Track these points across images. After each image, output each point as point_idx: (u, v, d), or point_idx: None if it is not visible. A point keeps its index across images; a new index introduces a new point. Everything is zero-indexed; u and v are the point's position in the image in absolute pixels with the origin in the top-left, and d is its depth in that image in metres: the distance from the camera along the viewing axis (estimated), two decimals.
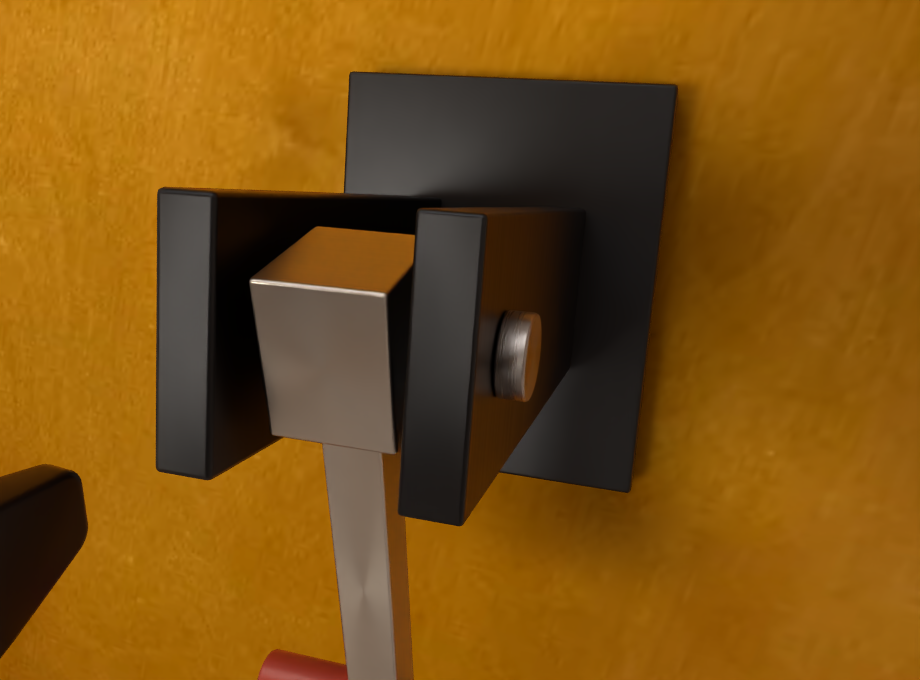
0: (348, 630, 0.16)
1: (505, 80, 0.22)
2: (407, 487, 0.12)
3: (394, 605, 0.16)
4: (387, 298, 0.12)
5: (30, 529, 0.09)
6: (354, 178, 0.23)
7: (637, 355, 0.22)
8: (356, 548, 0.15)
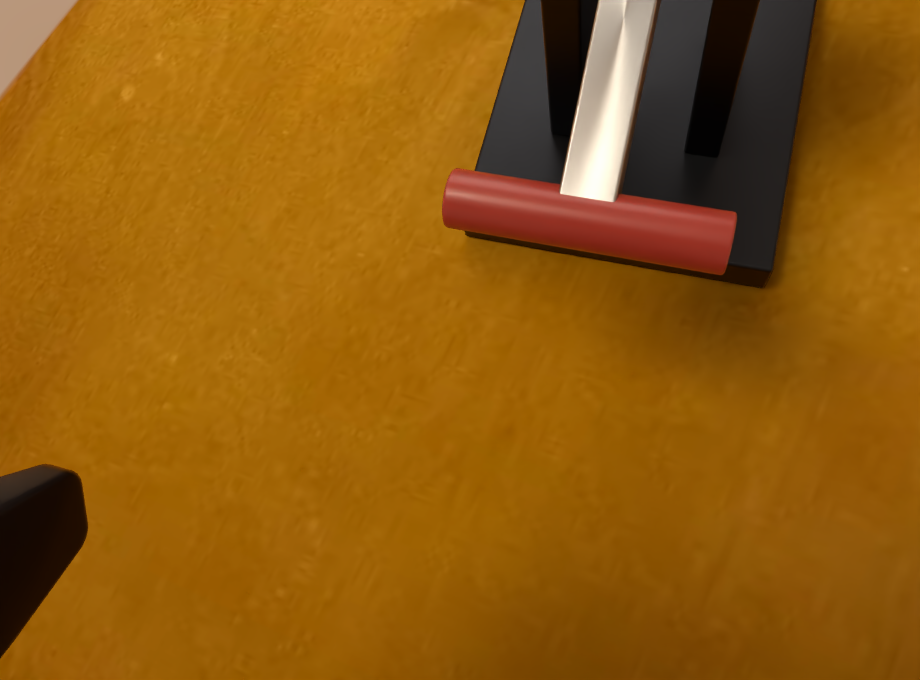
0: (590, 74, 0.15)
1: None
2: None
3: (648, 44, 0.15)
4: None
5: (30, 529, 0.09)
6: (533, 4, 0.27)
7: (784, 149, 0.23)
8: None
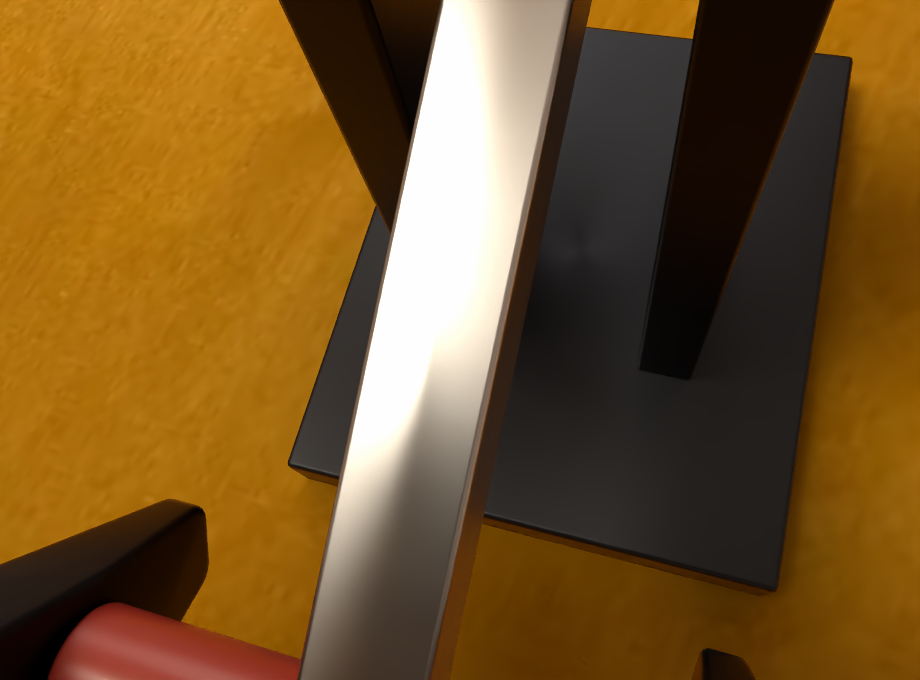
0: (361, 449, 0.07)
1: (636, 33, 0.18)
2: None
3: (495, 384, 0.07)
4: None
5: (162, 569, 0.08)
6: None
7: (796, 370, 0.15)
8: (457, 192, 0.07)
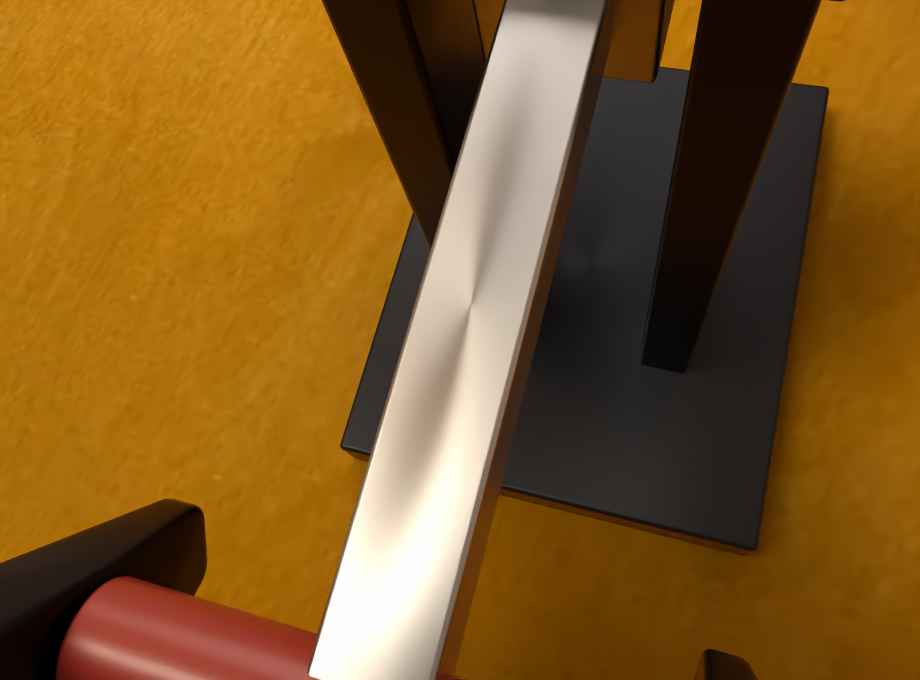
0: (397, 413, 0.07)
1: None
2: None
3: (519, 363, 0.08)
4: None
5: (160, 569, 0.09)
6: None
7: (775, 364, 0.17)
8: (492, 206, 0.08)
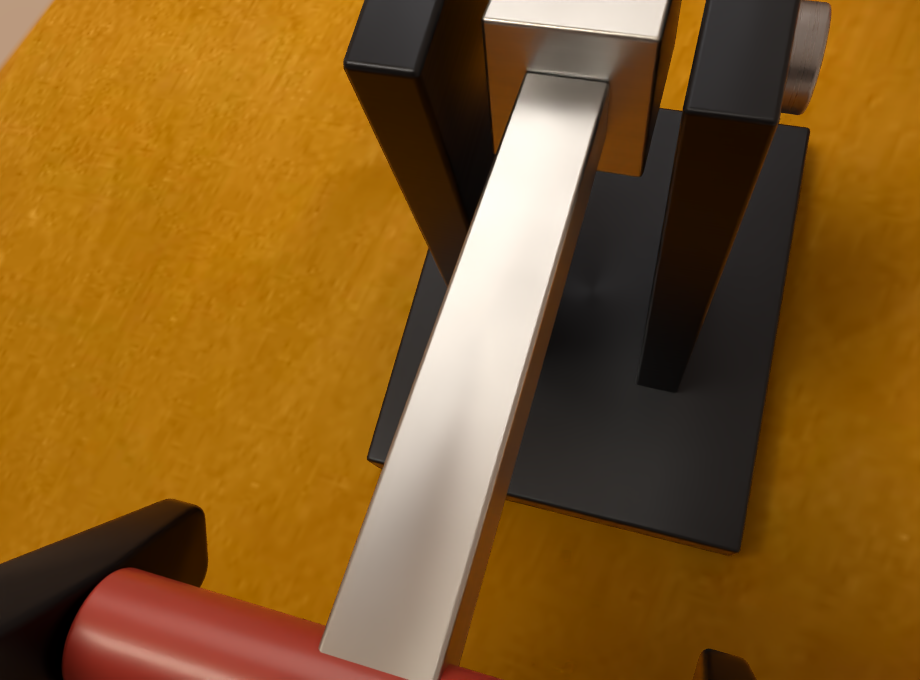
0: (415, 415, 0.08)
1: None
2: (705, 75, 0.09)
3: (527, 379, 0.08)
4: None
5: (161, 569, 0.09)
6: None
7: (757, 384, 0.19)
8: (507, 246, 0.09)
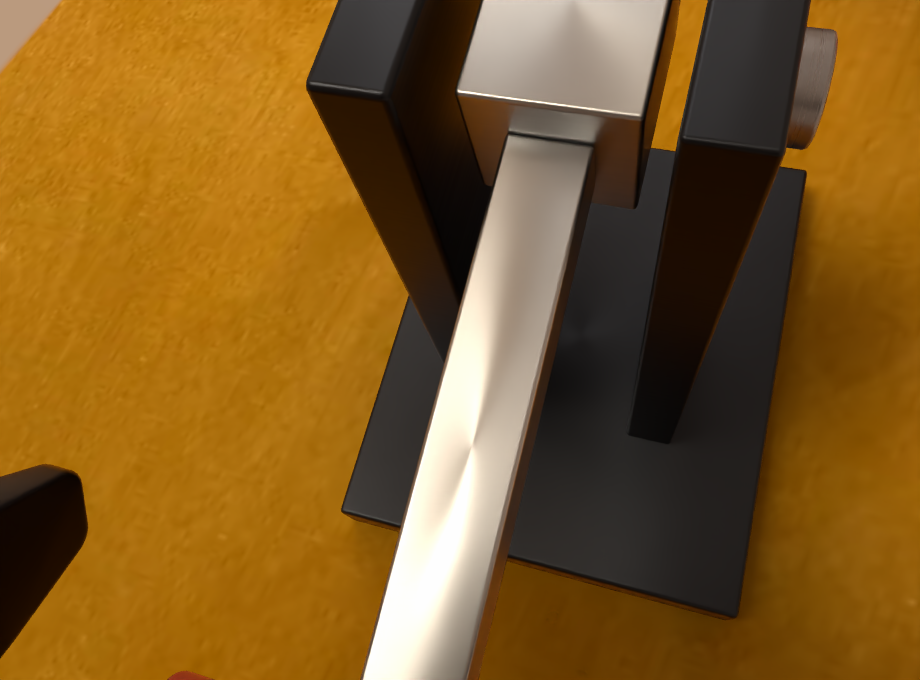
0: (410, 541, 0.09)
1: None
2: (702, 101, 0.08)
3: (513, 495, 0.09)
4: None
5: (30, 529, 0.09)
6: None
7: (755, 437, 0.18)
8: (490, 355, 0.09)
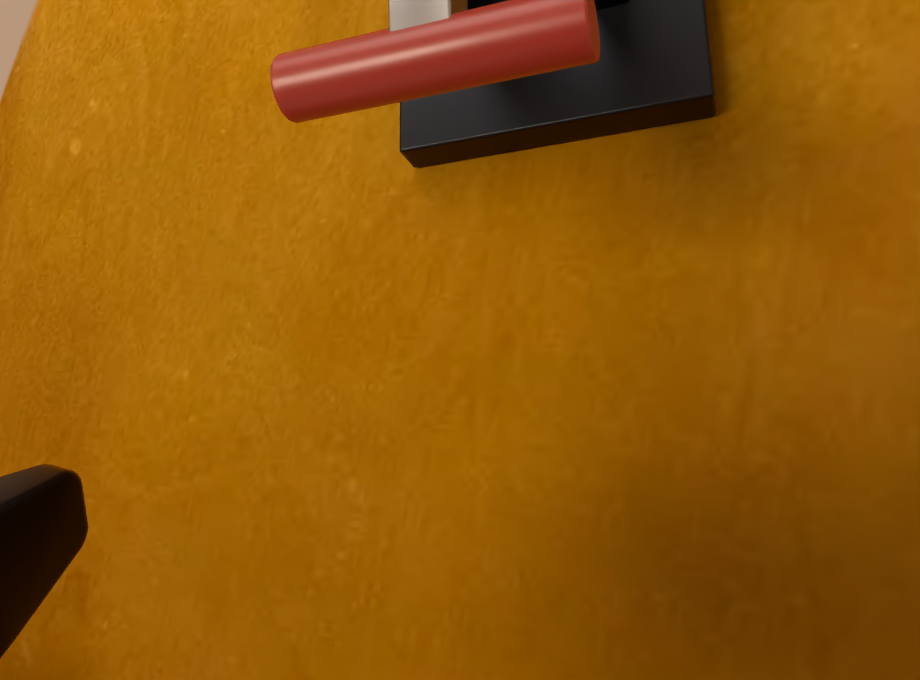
0: None
1: None
2: None
3: None
4: None
5: (30, 529, 0.09)
6: None
7: None
8: None
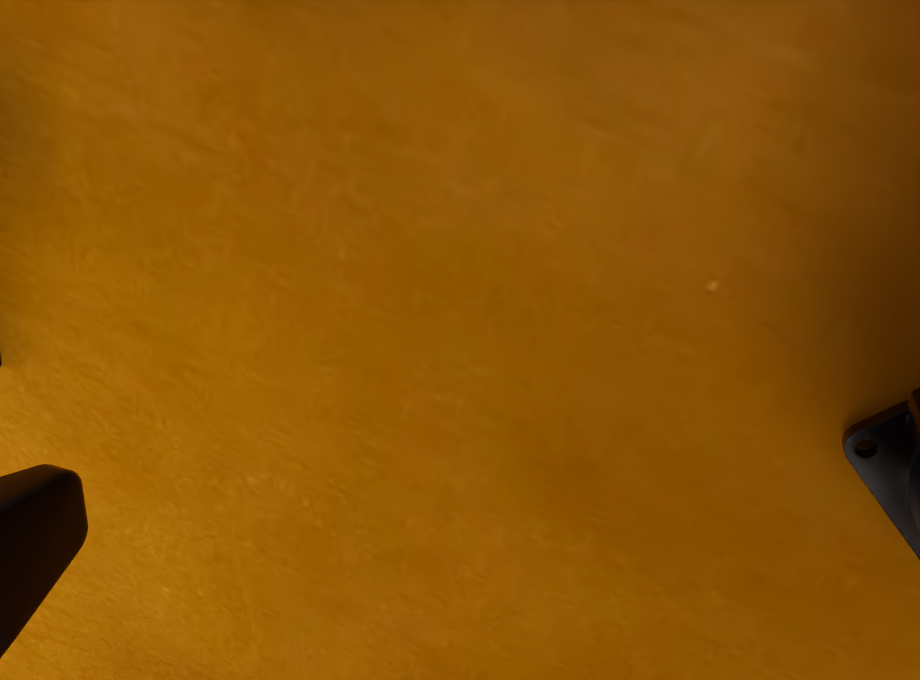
0: None
1: None
2: None
3: None
4: None
5: (30, 530, 0.09)
6: None
7: None
8: None
